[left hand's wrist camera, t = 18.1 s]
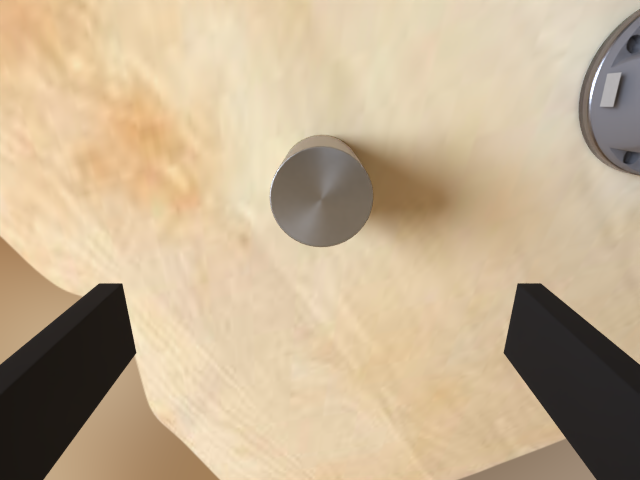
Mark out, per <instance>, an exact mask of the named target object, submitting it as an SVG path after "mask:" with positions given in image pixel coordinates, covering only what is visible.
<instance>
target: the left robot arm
mask: <svg viewBox="0 0 640 480" xmlns="http://www.w3.org/2000/svg"><path fill="white" fill-rule="evenodd" d="M135 354H136V349H135V344H134V339H133V334H132V329H131V324H130V319H129V314H128V309H127V304H126V300H125V295H124V290H123V285H122V284H98V285H97V286H96V287H94V288H93V289H92V290H91V291H90V292H88V293H87V294H86V295H85V296H83V297H82V298H81V299H80V300H79V301H77V302H76V303H75V304H74V305H72V306H71V307H70V308H69V309H68V310H66V311H65V312H64V313H63V314H61V315H60V316H59V317H58V318H57V319H55V320H54V321H53V322H52V323H51V324H49V325H48V326H47V327H46V328H44V329H43V330H42V331H41V332H40V333H38V334H37V335H36V336H35V337H33V338H32V339H31V340H30V341H29V342H27V343H26V344H25V345H24V346H22V347H21V348H20V349H19V350H18V351H16V352H15V353H14V354H13V355H12V356H10V357H9V358H8V359H7V360H5V361H4V362H3V363H2V364H1V365H0V480H43V479H44V478H45V477H46V475H47V474H48V473H49V471H50V470H51V469H52V467H53V466H54V464H55V463H56V462H57V460H58V459H59V458H60V456H61V455H62V454H63V452H64V451H65V449H66V448H67V447H68V445H69V444H70V443H71V441H72V440H73V439H74V437H75V436H76V434H77V433H78V432H79V430H80V429H81V428H82V426H83V425H84V424H85V422H86V421H87V419H88V418H89V417H90V415H91V414H92V413H93V411H94V410H95V408H96V407H97V406H98V404H99V403H100V402H101V400H102V399H103V398H104V396H105V395H106V394H107V392H108V391H109V389H110V388H111V387H112V385H113V384H114V383H115V381H116V380H117V379H118V377H119V376H120V374H121V373H122V372H123V370H124V369H125V368H126V366H127V365H128V364H129V362H130V361H131V359H132V358H133V357H134V355H135ZM504 354H505V355H506V357H507V358H508V359H509V361H510V362H511V364H512V365H513V366H514V368H515V369H516V370H517V372H518V373H519V374H520V376H521V377H522V379H523V380H524V381H525V383H526V384H527V385H528V387H529V388H530V389H531V391H532V392H533V394H534V395H535V396H536V398H537V399H538V400H539V402H540V403H541V404H542V406H543V407H544V409H545V410H546V411H547V413H548V414H549V415H550V417H551V418H552V419H553V421H554V422H555V424H556V425H557V426H558V428H559V429H560V430H561V432H562V433H563V434H564V436H565V437H566V439H567V440H568V441H569V443H570V444H571V445H572V447H573V448H574V449H575V451H576V452H577V454H578V455H579V456H580V458H581V459H582V460H583V462H584V463H585V464H586V466H587V467H588V469H589V470H590V471H591V473H592V474H593V475H594V477H595V478H596V479H597V480H640V365H639V364H638V363H637V362H636V361H635V360H633V359H632V358H631V357H630V356H628V355H627V354H626V353H625V352H624V351H622V350H621V349H620V348H619V347H618V346H616V345H615V344H614V343H613V342H611V341H610V340H609V339H608V338H607V337H605V336H604V335H603V334H602V333H600V332H599V331H598V330H597V329H596V328H594V327H593V326H592V325H591V324H589V323H588V322H587V321H586V320H585V319H583V318H582V317H581V316H580V315H579V314H577V313H576V312H575V311H574V310H572V309H571V308H570V307H569V306H568V305H566V304H565V303H564V302H563V301H561V300H560V299H559V298H558V297H557V296H555V295H554V294H553V293H552V292H550V291H549V290H548V289H547V288H546V287H544V286H543V285H542V284H518V285H517V290H516V295H515V300H514V304H513V309H512V314H511V319H510V324H509V329H508V334H507V339H506V344H505V349H504Z"/></svg>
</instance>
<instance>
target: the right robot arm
mask: <svg viewBox="0 0 640 480" xmlns="http://www.w3.org/2000/svg"><path fill="white" fill-rule="evenodd" d="M579 121H580V127H581V130H582V134H583V137H584V139H585V141H586V143H587V145H588V147H589V148H590V150H591V151H592V152H593V154H594V155H595V156H596V157H597V158H598V159H599V160H601V161H602V162H603V163H605V164H606V165H608V166H609V167H612V168H614V169H616V170H619V171H622V172H626V173H631V174H635V175H640V9H639V10H638V11H636V12H635V13H633V14H632V15H631V16H629V17H628V18H627V19H626V20H624V21H623V22H622V23H621V24H620V25H619V26H618V27H617V28H616V29H615V30H614V31H613V32H612V33H611V34H610V35H609V37H608V38H607V39H606V40H605V41H604V43H603V44H602V46H601V47H600V48H599V50H598V52H597V53H596V55H595V57H594V58H593V60H592V62H591V64H590V66H589V68H588V71H587V73H586V76H585V78H584V82H583V85H582V89H581V93H580V100H579Z"/></svg>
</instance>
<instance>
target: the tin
mask: <svg viewBox="0 0 640 480" xmlns="http://www.w3.org/2000/svg"><path fill="white" fill-rule="evenodd" d="M372 204H373V189H372V184H371V181H370V178H369V176H368V174H367V172H366V170H365V168H364V167H363V165H362V164H361V162H360V161H359V159H358V158H357V156H356V155H355V153H354V152H353V151H352V149H351V148H350V147H349V146H348V145H347V144H346V143H344V142H343V141H341V140H339V139H337V138H335V137H332V136H327V135H316V136H311V137H308V138H305V139H303V140H301V141H300V142H298V143H297V144H296V145H295V146H293V147H292V149H291V150H290V151H289V153H288V154H287V156H286V157H285V159H284V160H283V162H282V164H281V165H280V167H279V168H278V170H277V172H276V174H275V176H274V178H273V181H272V184H271V189H270V205H271V210H272V213H273V215H274V218H275V220H276V222H277V223H278V225H279V226H280V227H281V229H282V230H283V231H284V232H285V233H286V234H287V235H289V236H290V237H291V238H293V239H294V240H296V241H298V242H300V243H302V244H305V245H309V246H313V247H329V246H334V245H338V244H340V243H343V242H345V241H347V240H348V239H350V238H352V237H353V236H354V235H356V234H357V233H358V232H359V231H360V230H361V228H362V227H363V226H364V224H365V223H366V221H367V219H368V217H369V215H370V212H371V209H372Z"/></svg>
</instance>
